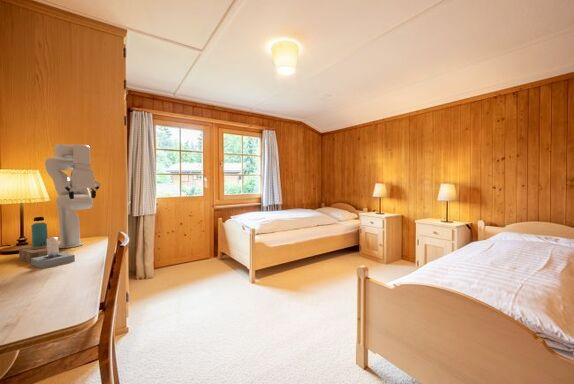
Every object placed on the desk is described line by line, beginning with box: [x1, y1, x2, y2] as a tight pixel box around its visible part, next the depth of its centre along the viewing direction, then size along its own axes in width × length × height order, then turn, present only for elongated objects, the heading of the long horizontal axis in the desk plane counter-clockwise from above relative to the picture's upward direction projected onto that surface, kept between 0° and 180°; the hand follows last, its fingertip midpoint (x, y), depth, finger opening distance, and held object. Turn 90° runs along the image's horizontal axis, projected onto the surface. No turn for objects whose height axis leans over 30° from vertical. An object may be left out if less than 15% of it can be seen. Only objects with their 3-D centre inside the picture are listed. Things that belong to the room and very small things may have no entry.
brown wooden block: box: [18, 245, 47, 264], centre depth 127 cm, size 16×10×5 cm, turn 61°
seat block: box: [30, 251, 76, 269], centre depth 119 cm, size 12×12×3 cm
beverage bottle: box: [31, 216, 49, 247], centre depth 139 cm, size 6×7×20 cm
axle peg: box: [47, 236, 60, 259], centre depth 119 cm, size 4×4×12 cm
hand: (82, 198), depth 138 cm, fingers open, 9 cm apart
